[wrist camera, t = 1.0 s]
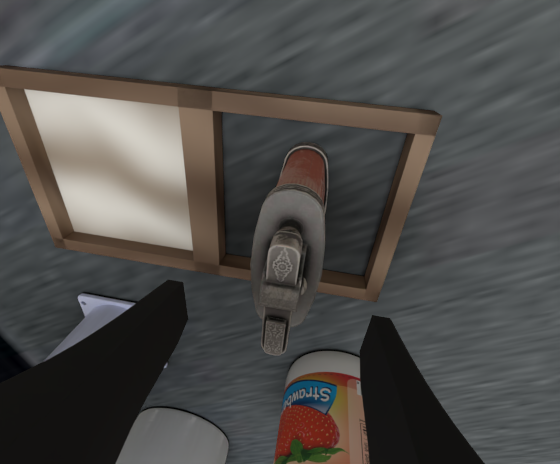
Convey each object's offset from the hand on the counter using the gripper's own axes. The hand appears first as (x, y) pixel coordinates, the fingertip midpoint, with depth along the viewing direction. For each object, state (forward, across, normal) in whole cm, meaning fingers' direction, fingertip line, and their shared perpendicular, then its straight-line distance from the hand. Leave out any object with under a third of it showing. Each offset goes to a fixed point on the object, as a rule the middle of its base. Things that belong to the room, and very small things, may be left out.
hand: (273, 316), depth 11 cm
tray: (+10, +6, 0) cm, 12 cm away
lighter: (+11, 0, 0) cm, 11 cm away
